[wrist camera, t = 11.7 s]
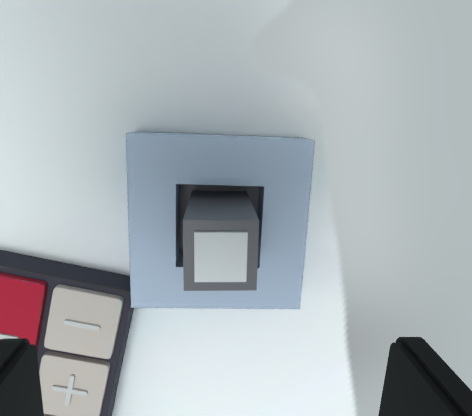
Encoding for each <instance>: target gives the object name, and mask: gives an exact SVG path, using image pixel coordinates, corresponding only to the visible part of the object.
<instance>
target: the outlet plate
mask: <svg viewBox="0 0 472 416" xmlns="http://www.w3.org/2000/svg"><path fill="white" fill-rule="evenodd" d="M314 144H315V141H314V140H310V139H306V138H290V137H264V136H237V135H211V134H185V133H158V132H131V133H126V152H127V186H128V220H129V254H130V288H131V308H231V309H300V302H301V290H302V279H303V268H304V257H305V245H306V234H307V223H308V211H309V200H310V189H311V177H312V166H313V155H314ZM192 191H247V193H248V196H249V198H250V200H251V203H252V205H253V207H254V210H255V212H256V214H257V217H258V219H259V238H258V266H257V290H248V291H184V279H183V218H184V214H185V211H186V208H187V205H188V201H189V198H190V195H191V192H192Z"/></svg>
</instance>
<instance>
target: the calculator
mask: <svg viewBox="0 0 472 416" xmlns="http://www.w3.org/2000/svg"><path fill="white" fill-rule="evenodd" d="M132 313H133V308H131V288H130V276H126V275H121V274H116V273H112V272H107V271H102V270H97V269H92V268H87V267H82V266H77V265H72V264H67V263H62V262H57V261H52V260H47V259H42V258H37V257H32V256H27V255H22V254H17V253H13V252H8V251H2V250H0V340H1V339H4V338H26V339H28V340H29V342H30V344H34V345H35V346H36V349H37V357H38V366H39V375H40V384H41V393H42V402H43V411H44V416H112V411H113V406H114V401H115V396H116V389H117V384H118V380H119V375H120V370H121V366H122V361H123V356H124V351H125V347H126V342H127V337H128V332H129V328H130V323H131V318H132Z"/></svg>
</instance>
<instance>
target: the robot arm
mask: <svg viewBox="0 0 472 416" xmlns="http://www.w3.org/2000/svg"><path fill="white" fill-rule="evenodd" d="M0 416H44V411H43V402H42V393H41V384H40V375H39V366H38V357H37V349H36V346H35V345H34V344H30V342H29V340H28V339H26V338H4V339H1V340H0ZM379 416H472V391H471V390H470V389H469V388H468V387H467V386H466V385H465V383H464V382H463V381H462V380H461V379H460V378H459V377H458V376H457V375H456V374H455V373H454V371H453V370H452V369H450V367H449V366H448V365H447V364H446V363H445V362H444V361H443V360H442V359H441V357H440V356H439V355H438V354H437V353H436V352H435V351H434V350H433V349H432V348H431V347H430V346H429V345H428V343H426V341H425V340H424V339H422V338H421V337H399V338H398V339H397V340H396V343H392V344H391V346H390V351H389V357H388V363H387V370H386V375H385V381H384V386H383V393H382V398H381V404H380V410H379Z"/></svg>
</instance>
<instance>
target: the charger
mask: <svg viewBox="0 0 472 416" xmlns="http://www.w3.org/2000/svg"><path fill="white" fill-rule="evenodd" d="M258 238H259V219H258V217H257V214H256V212H255V210H254V207H253V205H252V203H251V200H250V198H249V196H248V193H247V191H192V192H191V195H190V198H189V201H188V205H187V208H186V211H185V214H184V218H183V279H184V291H248V290H257V266H258Z"/></svg>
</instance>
